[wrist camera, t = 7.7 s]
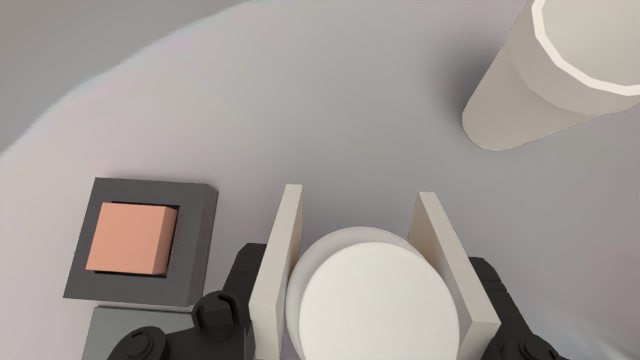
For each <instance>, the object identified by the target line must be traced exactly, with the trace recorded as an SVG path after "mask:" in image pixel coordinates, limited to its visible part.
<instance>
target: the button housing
mask: <svg viewBox="0 0 640 360" xmlns="http://www.w3.org/2000/svg"><path fill="white" fill-rule="evenodd" d="M218 193H219V192H218V191H217V190H215V189H214V188H212V187H210V186H209V185H207V184H195V183H178V182H162V181H146V180H130V179H113V178H97V177H95V181H94V185H93V188H92V192H91V196H90V199H89V203H88V207H87V211H86V214H85V218H84V222H83V225H82V229H81V233H80V236H79V240H78V244H77V247H76V251H75V255H74V258H73V262H72V266H71V270H70V273H69V277H68V281H67V284H66V288H65V292H64V295H63V298H71V299H84V300H98V301H111V302H125V303H138V304H151V305H165V306H178V307H188V306H191V305H193V304H196V303H197V302H198V301H199V300H200V299H201V298H202V294H203V288H204V282H205V275H206V269H207V263H208V256H209V250H210V244H211V238H212V231H213V225H214V219H215V212H216V206H217V200H218ZM103 203H116V204H131V205H147V206H163V207H168V208H171V209H174V210H177V216H176V221H175V226H174V231H173V236H172V242H171V247H170V252H169V257H168V263H167V268H166V273H158V274H144V273H130V272H116V271H102V270H88V269H86V265H87V262H88V258H89V254H90V250H91V246H92V242H93V238H94V235H95V231H96V227H97V223H98V219H99V215H100V211H101V207H102V204H103Z"/></svg>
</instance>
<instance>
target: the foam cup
mask: <svg viewBox="0 0 640 360" xmlns="http://www.w3.org/2000/svg"><path fill="white" fill-rule="evenodd" d="M638 103H640V0H529V2H528V3H527V4H526V5H525V7H524V8H523V9H522V10H521V12H520V13H519V15H518V17H517V19H516V21H515V23H514V25H513V27H512V29H511V31H510V33H509V35H508V38H507V39H506V41H505V43H504V44H503V46H502V47H501V49H500V51H499V52H498V54H497V56H496V57H495V59H494V60H493V62H492V64H491V65H490V67H489V68H488V70H487V72H486V73H485V75H484V77H483V78H482V80H481V81H480V83H479V85H478V86H477V88H476V90H475V91H474V93H473V94H472V96H471V98H470V99H469V101H468V103H467V105H466V107H465V109H464V111H463V113H462V127H463V129H464V131H465V132H466V134H467V136H468V138H469V139H470V140H471V141H473V142H474V143H475V144H477V145H478V146H479V147H481V148H484V149H488V150H492V151H501V150H508V149H510V148H514V147H517V146H520V145H523V144H525V143H528V142H531V141H533V140H536V139H539V138H542V137H544V136H547V135H550V134H553V133H555V132H558V131H561V130H563V129H566V128H569V127H572V126H574V125H577V124H580V123H583V122H585V121H588V120H591V119H593V118H596V117H599V116H602V115H604V114H607V113H613V112H619V111H624V110H626V109H628V108H630V107H632V106H634V105H636V104H638Z"/></svg>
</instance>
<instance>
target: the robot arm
mask: <svg viewBox="0 0 640 360" xmlns="http://www.w3.org/2000/svg"><path fill="white" fill-rule="evenodd" d="M302 230H303V185H296V184H286V187H285V190H284V194H283V197H282V200H281V203H280V206H279V209H278V213H277V216H276V219H275V222H274V225H273V228H272V231H271V235H270V238H269V241H268V244H257V243H247V244H246V245H245V246H244V247H243V248H242V249H241V250H240V251H239V252H238V254H237V257H236V259H235V261H234V265H233V266H232V268H231V271H230V274H229V275H228V278H227V280H226V282H225V285H224V287H223V289H222V291H215V292H212V293H209V294H207V295H206V296H204V297H202V298H201V299H200V300H199V301H198V302H197V303H196V304H195V306H194V307H193V310H192V312H191V317H192V320H193V324H194V327H192V328H189V329H186V330H181V331H177V332H173V333H168V334H165V333H164V332H163V331H162V330H161V329H160V328H159V327H155V326H145V327H141V328H138V329H136V330H134V331H131V332H130V333H129V334H127V335H126V336H125V337H123V338H122V339H121V340H120V341H119V343H118V344H117V345H116V346H115V347H114V349H113V350H112V352H111V353H110V355H109V357H108V358H107V360H253V358H254V354H256V359H261V360H280V354H281V349H282V343H283V338H284V332H285V326H286V316H285V298H286V291H287V287H288V283H289V280H290V277H291V274H292V272H293V269H294V268H295V266H296V264H297V259H298V253H299V247H300V242H301V236H302ZM408 239H409V243H410V244H411V245H412V246H413V247H414V248H415V249H416V250H417V251H418V252H419V253H420V254H421V255H422V256H423V257H424V258H425V259H426V261H427V262H428V263H429V264H430V265H431V266H432V267H433V268H434V269H435V270H436V272H437V273H438V274H439V275H440V277H441V278H442V279H443V281H444V283H445V284H446V286H447V288H448V289H449V291H450V294H451V296H452V299H453V301H454V304H455V307H456V311H457V316H458V322H459V348H458V353H457V358H456V360H569V359H566V358H564V357H562V356H559V354H558V352H557V351H556V350H555V349H554V348H553V347H552V346H551V345H550V344H549V343H548V342H546V341H545V340H543V339H542V338H540V337H539V336H537V335H534V334H533V333H532V332H531V330H530V329H529V327H528V325H527V324H526V322H525V320H524V318H523V317H522V315H521V313H520V312H519V310H518V308H517V307H516V305H515V303H514V301H513V300H512V298H511V296H510V295H509V293H507V290H506V288H505V286H504V284H503V283H501V279H500V278H499V276H498V274H497V273H496V271H495V269H494V268H493V267H492V266H491V265H490V264H489V263H488V262H486V261H485V260H484V259H483V258H477V257H467V255H466V253H465V251H464V249H463V247H462V245H461V243H460V241H459V239H458V237H457V235H456V233H455V231H454V229H453V227H452V225H451V223H450V221H449V219H448V217H447V215H446V213H445V211H444V209H443V207H442V205H441V203H440V202H439V200H438V198H437V196H436V194H435V193H433V192H418V195H417V200H416V204H415V208H414V213H413V217H412V221H411V226H410V230H409V234H408Z"/></svg>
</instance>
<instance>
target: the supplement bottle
mask: <svg viewBox="0 0 640 360" xmlns="http://www.w3.org/2000/svg"><path fill="white" fill-rule="evenodd" d="M285 316H286V323H287V328H288V332H289V336H290V338H291V341H292V344H293V346H294V348H295V350H296V352H297V354H298V356H299V357H300V359H301V360H456V358H457V353H458V348H459V322H458V316H457V311H456V307H455V304H454V301H453V299H452V296H451V294H450V291H449V289H448V288H447V286H446V284H445V283H444V281H443V279H442V278H441V277H440V275H439V274H438V273H437V272H436V270H435V269H434V268H433V267H432V266H431V265H430V264H429V263H428V262H427V261H426V259H425V258H424V257H423V256H422V255H421V254H420V253H419V252H418V251H417V250H416V249H415V248H414V247H413V246H412V245H411V244H409V243H408V242H407V241H406V240H404V239H402V238H401V237H399V236H397V235H395V234H393V233H391V232H389V231H386V230H383V229H379V228H374V227H367V226H356V227H347V228H343V229H339V230H336V231H333V232H331V233H329V234H327V235H325V236H323V237H322V238H320V239H319V240H317V241H316V242H315V243H314V244H312V245H311V246H310V247H309V248H308V249H307V250H306V251H305V253H304V254H303V255H302V256H301V258H300V259H299V261H298V262H297V264H296V266H295V268H294V269H293V272H292V274H291V277H290V280H289V283H288V287H287V291H286V298H285Z"/></svg>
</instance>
